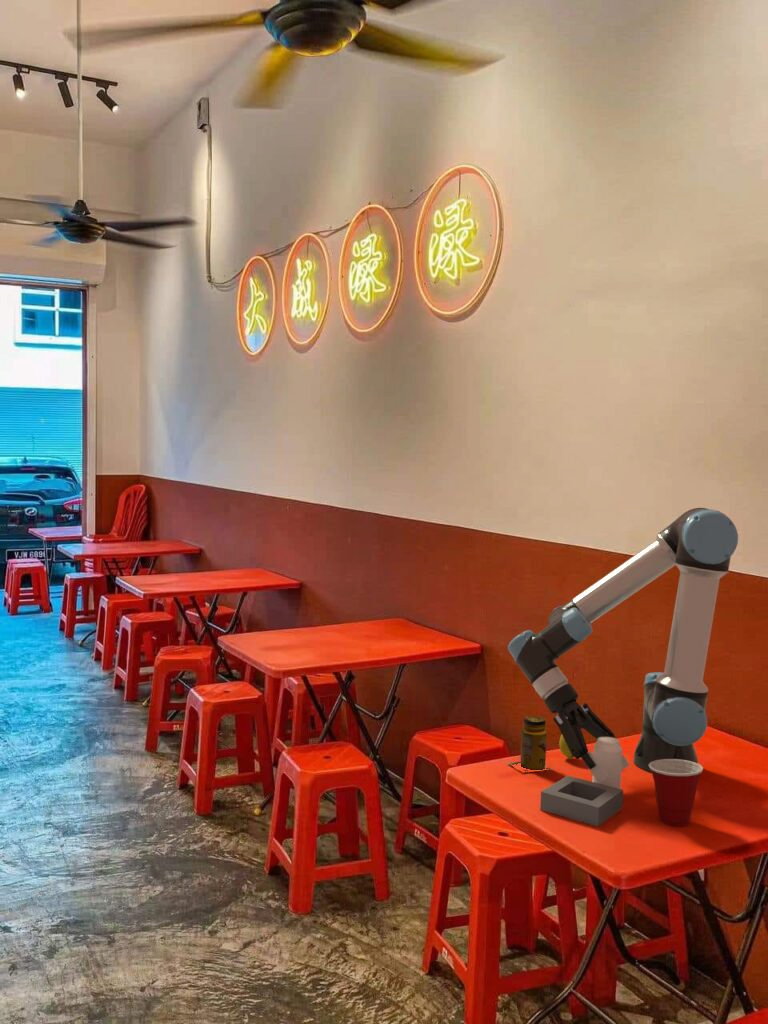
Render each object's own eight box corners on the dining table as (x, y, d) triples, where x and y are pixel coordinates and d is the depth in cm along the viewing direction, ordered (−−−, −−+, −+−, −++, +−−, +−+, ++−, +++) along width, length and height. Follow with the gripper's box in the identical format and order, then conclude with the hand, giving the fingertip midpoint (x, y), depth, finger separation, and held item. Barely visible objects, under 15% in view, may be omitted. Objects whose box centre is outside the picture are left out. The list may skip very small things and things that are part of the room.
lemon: (569, 754, 223) (571, 723, 223) (585, 760, 219) (587, 729, 218) (554, 757, 220) (555, 726, 220) (569, 764, 216) (571, 732, 215)
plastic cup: (657, 806, 190) (660, 752, 190) (707, 820, 183) (710, 764, 183) (637, 821, 182) (640, 764, 181) (689, 836, 175) (692, 777, 174)
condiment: (552, 770, 211) (554, 721, 211) (523, 774, 208) (525, 724, 207) (535, 760, 218) (537, 713, 217) (506, 764, 214) (508, 716, 214)
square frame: (567, 792, 197) (567, 775, 196) (622, 808, 189) (623, 789, 188) (540, 810, 186) (541, 791, 186) (597, 826, 178) (598, 807, 178)
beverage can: (608, 785, 202) (610, 734, 201) (626, 795, 196) (628, 742, 196) (586, 788, 199) (588, 737, 199) (603, 798, 194) (605, 745, 193)
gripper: (567, 692, 215) (623, 770, 206) (521, 708, 197) (580, 795, 188) (588, 675, 212) (646, 754, 203) (543, 690, 193) (605, 777, 184)
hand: (614, 774), depth 195 cm, fingers open, 11 cm apart
